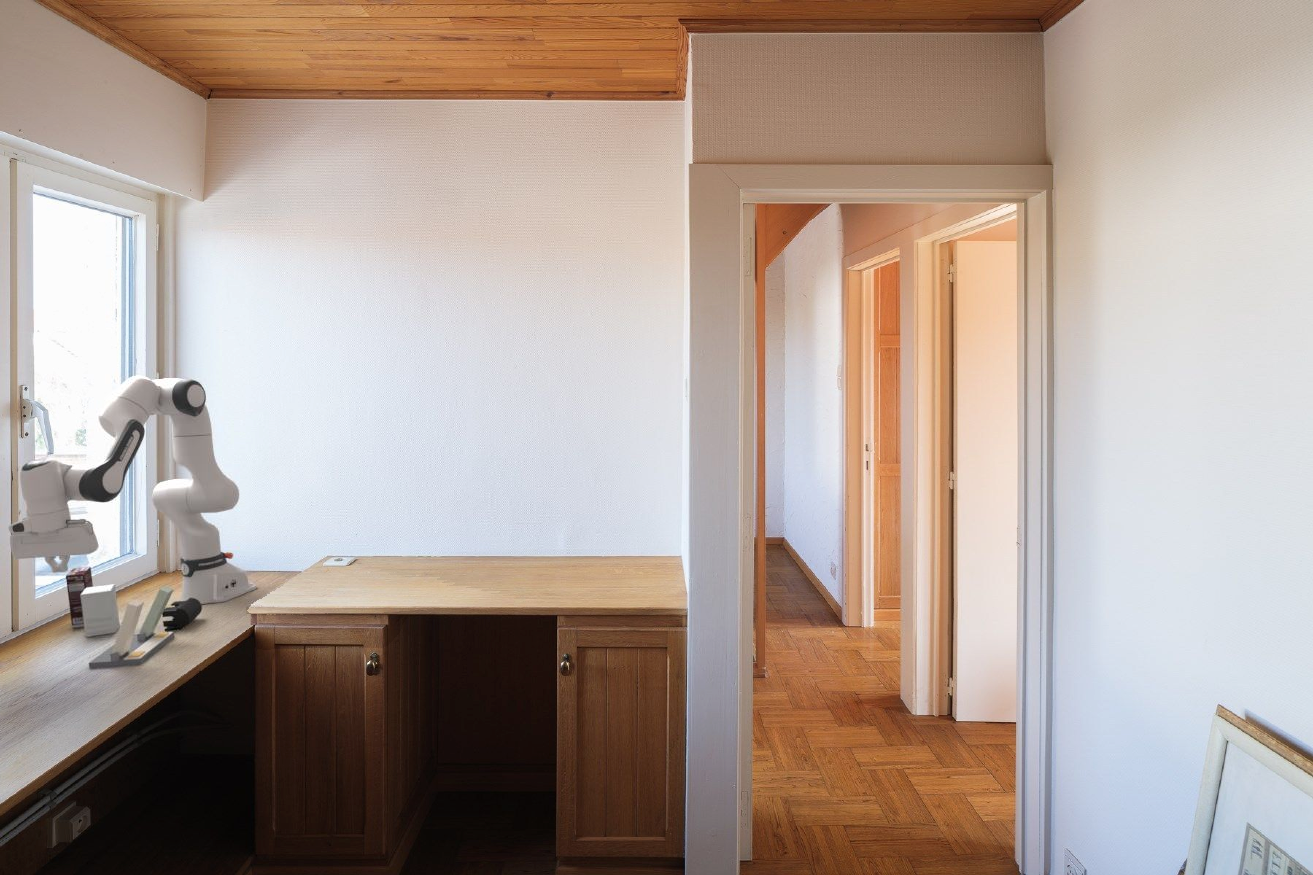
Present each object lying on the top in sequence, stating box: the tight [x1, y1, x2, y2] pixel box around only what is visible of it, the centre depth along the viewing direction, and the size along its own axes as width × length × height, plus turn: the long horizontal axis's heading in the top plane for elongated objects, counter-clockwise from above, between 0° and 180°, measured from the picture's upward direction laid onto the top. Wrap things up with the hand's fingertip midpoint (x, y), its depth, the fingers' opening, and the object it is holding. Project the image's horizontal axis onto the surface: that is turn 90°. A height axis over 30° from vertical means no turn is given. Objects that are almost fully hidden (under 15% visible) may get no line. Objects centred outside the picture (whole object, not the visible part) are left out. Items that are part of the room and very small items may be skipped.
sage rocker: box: [138, 585, 175, 637], centre depth 224 cm, size 2×4×15 cm, turn 8°
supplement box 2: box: [80, 583, 121, 638], centre depth 234 cm, size 7×7×13 cm
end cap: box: [161, 598, 203, 632], centre depth 238 cm, size 10×7×7 cm
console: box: [88, 631, 175, 670], centre depth 218 cm, size 12×20×4 cm, turn 8°
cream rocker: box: [112, 599, 145, 656], centre depth 211 cm, size 2×4×15 cm, turn 10°
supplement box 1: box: [65, 566, 94, 629], centre depth 242 cm, size 9×5×16 cm, turn 23°
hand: (60, 571), depth 215 cm, fingers closed
